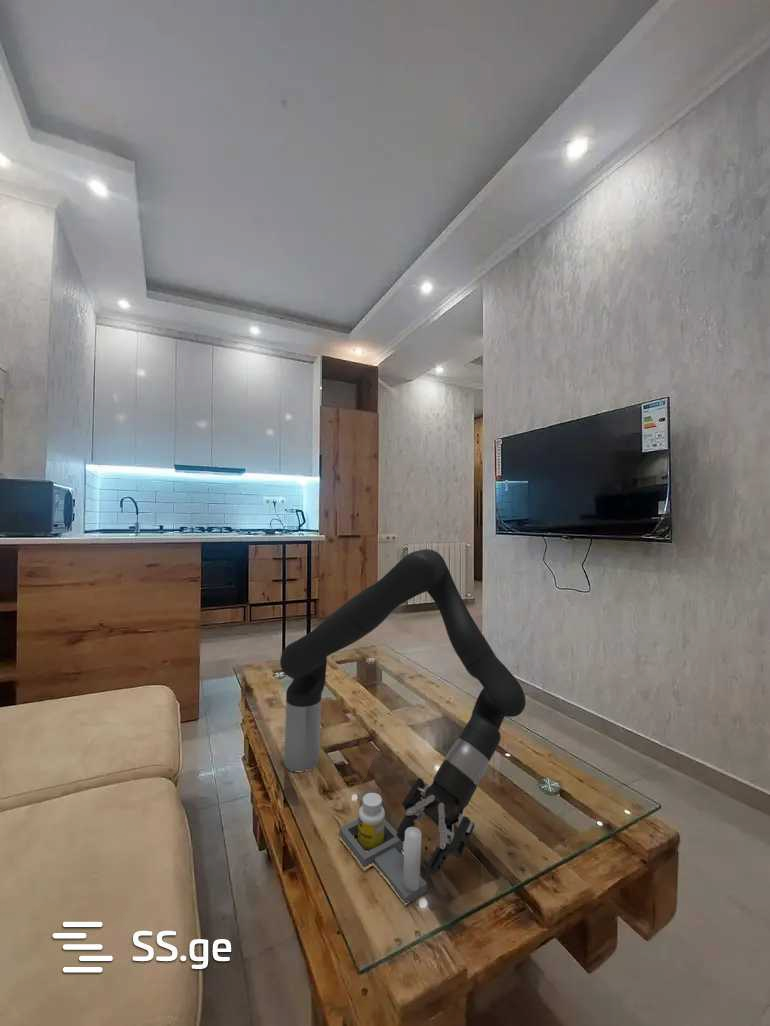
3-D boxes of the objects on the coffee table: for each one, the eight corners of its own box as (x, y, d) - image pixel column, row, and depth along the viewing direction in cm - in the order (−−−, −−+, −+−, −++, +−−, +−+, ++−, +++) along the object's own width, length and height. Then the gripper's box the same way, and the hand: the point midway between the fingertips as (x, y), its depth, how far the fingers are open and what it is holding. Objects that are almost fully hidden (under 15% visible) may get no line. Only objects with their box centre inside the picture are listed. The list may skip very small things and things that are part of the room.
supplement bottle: (351, 844, 88) (353, 797, 88) (371, 831, 92) (373, 786, 92) (369, 861, 84) (371, 812, 84) (389, 846, 88) (391, 799, 88)
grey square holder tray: (339, 839, 89) (341, 787, 89) (376, 820, 95) (378, 771, 94) (395, 913, 74) (397, 850, 73) (435, 886, 79) (438, 827, 79)
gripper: (427, 744, 88) (380, 821, 82) (481, 782, 77) (430, 876, 70) (445, 761, 91) (401, 837, 85) (499, 800, 80) (452, 891, 73)
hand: (414, 854), depth 78 cm, fingers open, 8 cm apart
